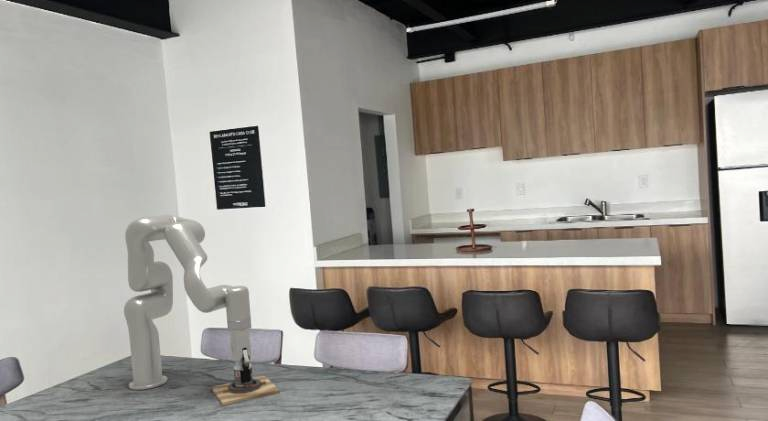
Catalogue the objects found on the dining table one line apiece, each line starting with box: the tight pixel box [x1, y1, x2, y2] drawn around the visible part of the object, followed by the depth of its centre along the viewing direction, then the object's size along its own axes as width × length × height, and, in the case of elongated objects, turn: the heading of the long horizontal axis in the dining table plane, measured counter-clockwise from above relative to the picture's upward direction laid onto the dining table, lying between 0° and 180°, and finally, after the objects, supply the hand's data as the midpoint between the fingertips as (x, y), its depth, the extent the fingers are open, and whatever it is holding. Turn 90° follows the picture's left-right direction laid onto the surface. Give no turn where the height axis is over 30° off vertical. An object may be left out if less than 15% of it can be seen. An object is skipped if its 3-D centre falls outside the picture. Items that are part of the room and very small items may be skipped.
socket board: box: [211, 375, 281, 407], centre depth 187 cm, size 18×18×2 cm
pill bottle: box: [233, 359, 254, 388], centre depth 187 cm, size 6×6×10 cm
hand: (243, 378), depth 187 cm, fingers closed on pill bottle, 5 cm apart
